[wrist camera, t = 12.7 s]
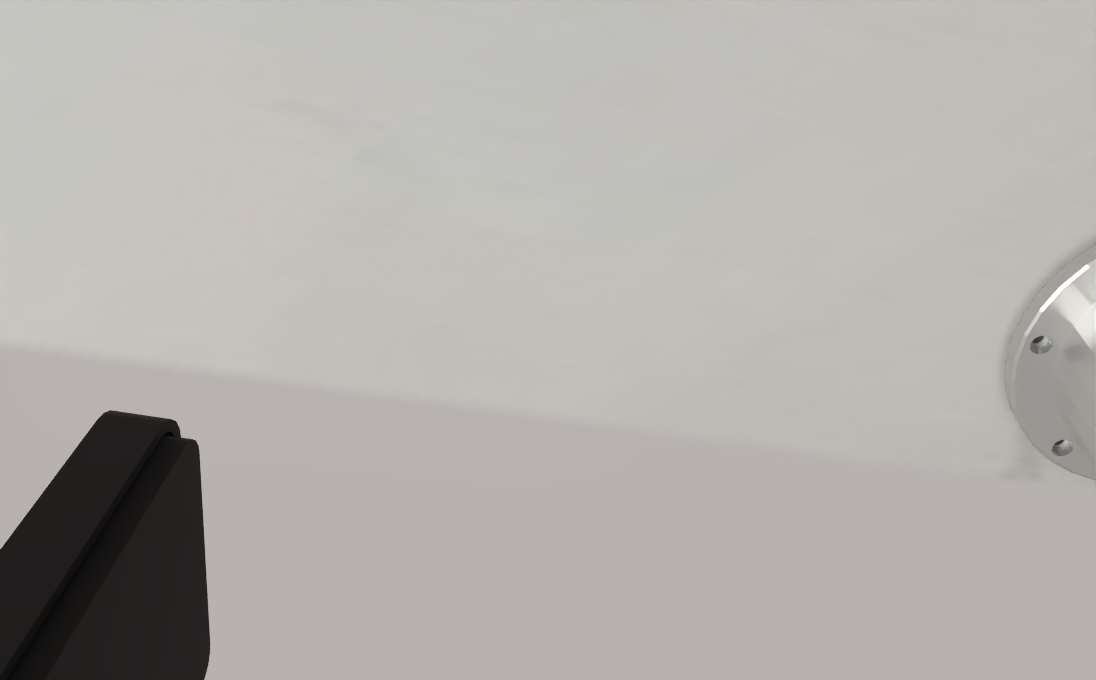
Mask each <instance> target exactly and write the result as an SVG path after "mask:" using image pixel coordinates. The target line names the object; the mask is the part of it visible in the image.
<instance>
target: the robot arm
mask: <svg viewBox="0 0 1096 680" xmlns="http://www.w3.org/2000/svg"><path fill="white" fill-rule="evenodd" d="M1005 387H1006V391H1007V396H1008V400H1009V404H1010V408H1011V410H1012V412H1013V414H1014V416H1015V418H1016V420H1017V422H1018V424H1019V426H1020V428H1021V429H1022V431H1023V432H1024V433H1025V435H1026V436H1027V438H1028V439H1029V440H1030V442H1031V443H1032V445H1033V446H1034V447H1035V448H1036V449H1037V450H1038V451H1039V452H1040V453H1041V454H1043V455H1044V456H1045V457H1046V458H1047V459H1049V460H1050V461H1051V462H1053V463H1055V464H1057V465H1059V466H1061V467H1062V468H1064V469H1066V470H1068V471H1070V472H1072V473H1074V474H1078V475H1081V476H1084V477H1087V478H1090V479H1094V480H1096V244H1095V245H1093V246H1092V247H1090V248H1089V249H1088V250H1086V251H1085V252H1083V253H1082V254H1081V255H1079V256H1078V257H1076V258H1075V259H1074V260H1072V261H1071V262H1069V263H1068V264H1067V265H1065V266H1064V267H1063V268H1062V269H1061V270H1060V271H1059V272H1058V273H1057V274H1056V275H1055V276H1054V277H1053V278H1052V279H1051V280H1050V281H1049V282H1048V283H1047V284H1046V285H1045V286H1043V287H1042V289H1041V290H1040V291H1039V293H1038V294H1037V295H1036V297H1035V298H1034V299H1033V301H1032V302H1031V303H1030V305H1029V306H1028V308H1027V309H1026V310H1025V312H1024V313H1023V315H1022V317H1021V319H1020V322H1019V324H1018V326H1017V328H1016V330H1015V332H1014V334H1013V336H1012V339H1011V342H1010V346H1009V350H1008V354H1007V358H1006V365H1005ZM206 581H207V580H206V563H205V544H204V527H203V509H202V491H201V473H200V455H199V447H198V444H197V442H196V441H195V440H193V439H185V438H181V435H180V429H179V427H178V424H177V422H176V421H174V420H171V419H165V418H158V417H151V416H145V415H138V414H132V413H124V412H118V411H108V412H105V413H104V414H103V415H102V416H101V417H100V418H99V419H98V420H97V421H96V422H95V424H94V425H93V426H92V428H91V429H90V431H89V432H88V433H87V434H86V436H85V437H84V438H83V440H82V441H81V442H80V444H79V445H78V446H77V448H76V449H75V450H74V452H73V453H72V455H71V456H70V457H69V459H68V460H67V461H66V462H65V464H64V465H63V466H62V468H61V469H60V471H59V472H58V473H57V475H56V476H55V477H54V479H53V480H52V481H51V483H50V484H49V485H48V487H47V488H46V490H45V491H44V492H43V494H42V495H41V496H40V498H39V499H38V500H37V501H36V503H35V504H34V505H33V507H32V508H31V509H30V511H29V512H28V513H27V515H26V516H25V517H24V519H23V520H22V522H21V523H20V524H19V525H18V527H17V528H16V529H15V531H14V532H13V534H12V535H11V536H10V538H9V539H8V540H7V542H6V543H5V544H4V546H3V547H2V548H1V549H0V680H204V678H205V675H206V671H207V667H208V662H209V655H210V634H209V617H208V598H207V582H206Z"/></svg>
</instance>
